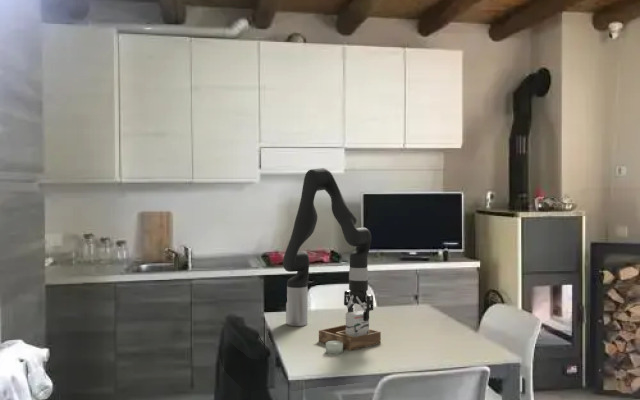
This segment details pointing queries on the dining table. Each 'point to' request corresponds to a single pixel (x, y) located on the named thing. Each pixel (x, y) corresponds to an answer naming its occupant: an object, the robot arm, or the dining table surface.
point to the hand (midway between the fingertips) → (358, 318)
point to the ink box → (356, 324)
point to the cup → (358, 307)
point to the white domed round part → (334, 347)
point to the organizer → (349, 338)
